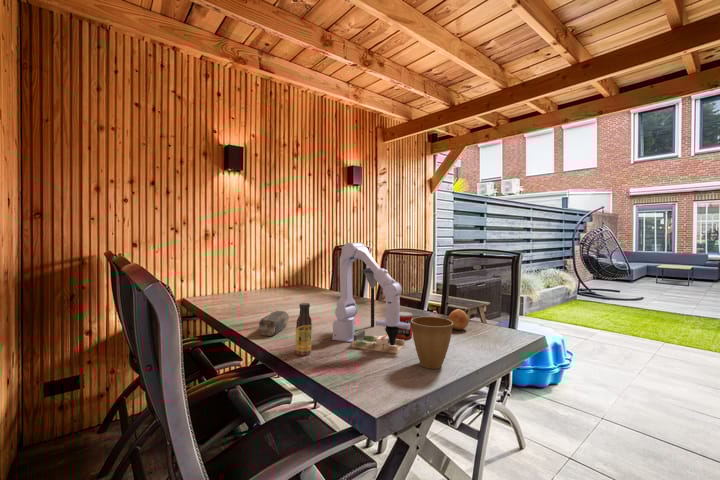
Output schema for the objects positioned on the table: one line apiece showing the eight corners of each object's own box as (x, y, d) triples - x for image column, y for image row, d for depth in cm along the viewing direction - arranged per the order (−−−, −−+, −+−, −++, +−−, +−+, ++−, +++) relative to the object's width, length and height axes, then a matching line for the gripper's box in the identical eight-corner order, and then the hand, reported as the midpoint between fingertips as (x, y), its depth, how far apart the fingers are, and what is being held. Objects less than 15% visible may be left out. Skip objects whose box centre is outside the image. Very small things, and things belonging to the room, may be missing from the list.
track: (351, 346, 142) (351, 335, 142) (361, 340, 151) (361, 329, 151) (397, 353, 134) (397, 341, 134) (404, 346, 143) (404, 334, 143)
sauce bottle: (298, 357, 130) (297, 305, 130) (293, 352, 135) (293, 303, 135) (314, 354, 133) (314, 304, 133) (308, 349, 138) (308, 301, 138)
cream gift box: (375, 346, 140) (375, 337, 140) (380, 342, 145) (380, 333, 145) (387, 347, 138) (387, 338, 138) (392, 343, 143) (392, 335, 143)
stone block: (288, 327, 176) (269, 325, 176) (289, 310, 176) (270, 309, 176) (278, 338, 156) (257, 336, 156) (279, 319, 156) (258, 317, 156)
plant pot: (445, 376, 112) (445, 328, 112) (404, 367, 120) (404, 322, 120) (458, 362, 124) (458, 319, 124) (420, 355, 132) (420, 314, 132)
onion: (445, 327, 173) (445, 307, 173) (463, 326, 174) (463, 307, 174) (452, 332, 163) (452, 311, 163) (472, 331, 164) (472, 311, 164)
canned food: (393, 338, 153) (393, 314, 153) (398, 334, 161) (398, 311, 160) (409, 340, 150) (409, 316, 150) (413, 335, 158) (413, 312, 158)
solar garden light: (358, 329, 169) (358, 269, 168) (362, 323, 181) (362, 267, 180) (383, 330, 167) (383, 269, 166) (385, 324, 179) (385, 267, 178)
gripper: (372, 312, 139) (372, 345, 139) (406, 315, 133) (406, 349, 133) (378, 308, 145) (378, 340, 146) (411, 311, 139) (411, 344, 140)
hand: (392, 344), depth 140 cm, fingers closed
